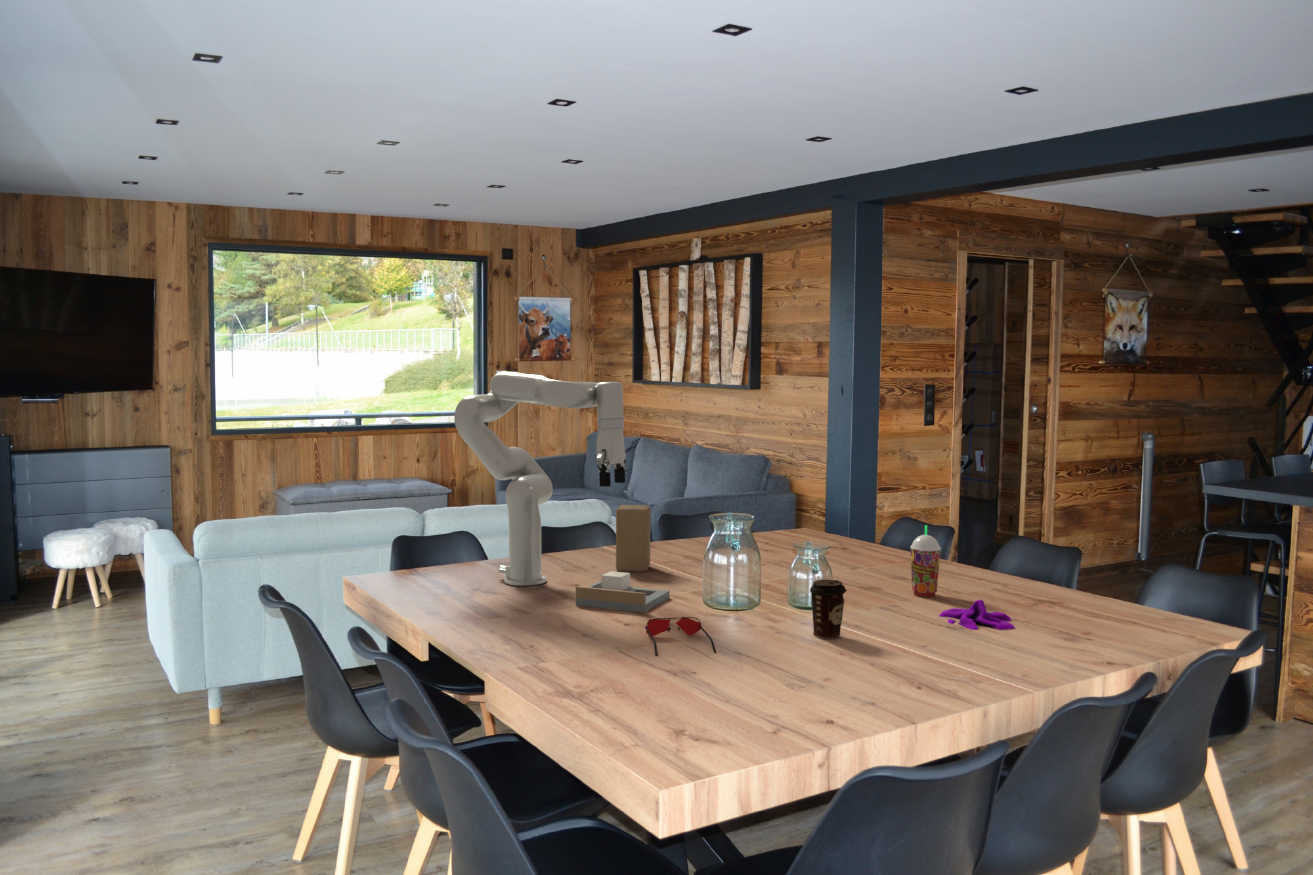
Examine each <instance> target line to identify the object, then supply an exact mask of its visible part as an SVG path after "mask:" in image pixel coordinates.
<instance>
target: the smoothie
mask: <svg viewBox="0 0 1313 875" xmlns="http://www.w3.org/2000/svg"><path fill="white" fill-rule="evenodd" d="M909 548H910V566H911V567H910V568H911V570H910V572H911V591H913V596H916V597H919V598H933V597H935V595H936V593H937V591H938V584H939V572H940V562H941V550H942V548H941V546H940V543H939V542H938V540H937V539H936V538H935V537H933V536H932V535H929V534H928V524H926V525H925V524H924V534H921V535H918V536H917V537H915V539H914V540H913V542H912V544H911V545H910V547H909Z"/></svg>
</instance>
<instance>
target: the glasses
mask: <svg viewBox="0 0 1313 875" xmlns="http://www.w3.org/2000/svg"><path fill="white" fill-rule="evenodd" d="M673 619H674V620H675V619H677V621H676V622H674V624H675V625H676V626H677V627H676V629H677V630H678V632H681V631H682V632H683V633H684V634H685V635H687V636H694V635H695V634H697V633H699V632H700V631H703V633H704V635H705V636H706V637H707V638H708V639H709V641H710V643H711V644H710V645H711V647H712V650H713V653H714V654H717V649H716V646H715V643H714V640H713V638H712V636H710V634H708V632H707V631H706V630H705V629H704V628H703V626H702V622H701V620H700V619H699V618H697V617H694V616H688V617H687V616H681V617H679V620H678V617H665V616H664V617H661V618H660V617H658V618H657V617H656V618H649V619H648V621H647V622H646V625H645V626H644V629H645V633H646V634H647V635H648V637H649V638H651V640H652V642H653V646H654V654H655V657H658V655H659V654H658V647H657V642H656V639H655V638H654V637H655V636H658V635H660V634H662V633H664V632H668V633H669V632H670V631H671V626H670V624H671V620H673ZM694 619H695V620H694ZM680 629H681V631H680Z"/></svg>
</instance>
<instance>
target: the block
mask: <svg viewBox="0 0 1313 875" xmlns="http://www.w3.org/2000/svg"><path fill="white" fill-rule="evenodd" d="M651 512H652V511H651V507H650V505H648V504H645V505H644V504H621V505H619V507H618V508H617V509H616V511H615V570H616V572H624V573H631V572H632V573H646V572H647V571H648V570H649V568H650V565H651Z"/></svg>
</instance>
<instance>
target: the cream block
mask: <svg viewBox="0 0 1313 875" xmlns="http://www.w3.org/2000/svg"><path fill="white" fill-rule="evenodd" d="M601 581H602V589H611V590H621V591H623V590H625V589H627V588H629V587H631V572H620V571H613V570H612V571H611V570H610V571H608V572H606V573H604V574H601Z"/></svg>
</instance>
